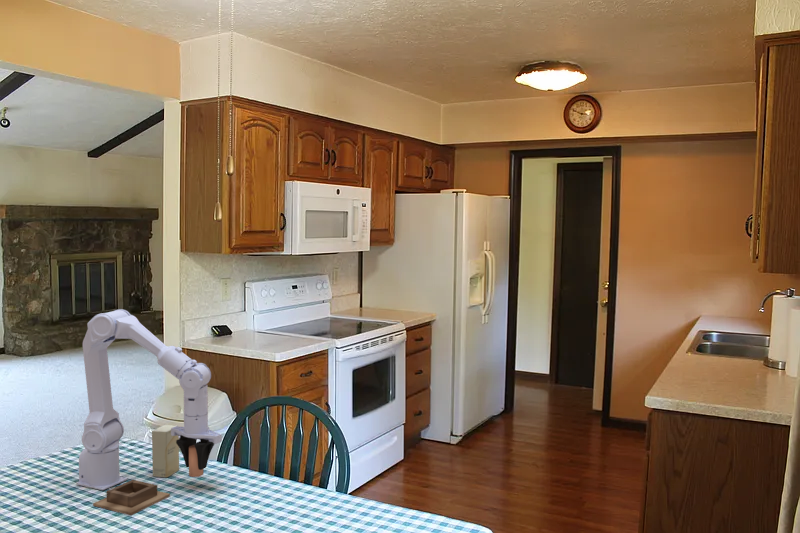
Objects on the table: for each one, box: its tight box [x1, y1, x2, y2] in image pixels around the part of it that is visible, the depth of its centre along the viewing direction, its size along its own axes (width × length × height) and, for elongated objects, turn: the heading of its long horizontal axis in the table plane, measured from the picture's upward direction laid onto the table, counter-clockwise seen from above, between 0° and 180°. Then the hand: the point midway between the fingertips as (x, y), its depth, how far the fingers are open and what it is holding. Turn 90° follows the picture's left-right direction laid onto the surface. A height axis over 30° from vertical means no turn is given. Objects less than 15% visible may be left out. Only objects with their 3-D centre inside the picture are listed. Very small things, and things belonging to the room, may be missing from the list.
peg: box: [188, 445, 204, 478], centre depth 165 cm, size 4×4×7 cm
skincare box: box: [151, 424, 180, 478], centre depth 175 cm, size 6×4×12 cm
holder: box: [92, 479, 171, 516], centre depth 157 cm, size 12×12×3 cm
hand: (196, 467), depth 166 cm, fingers closed on peg, 3 cm apart
